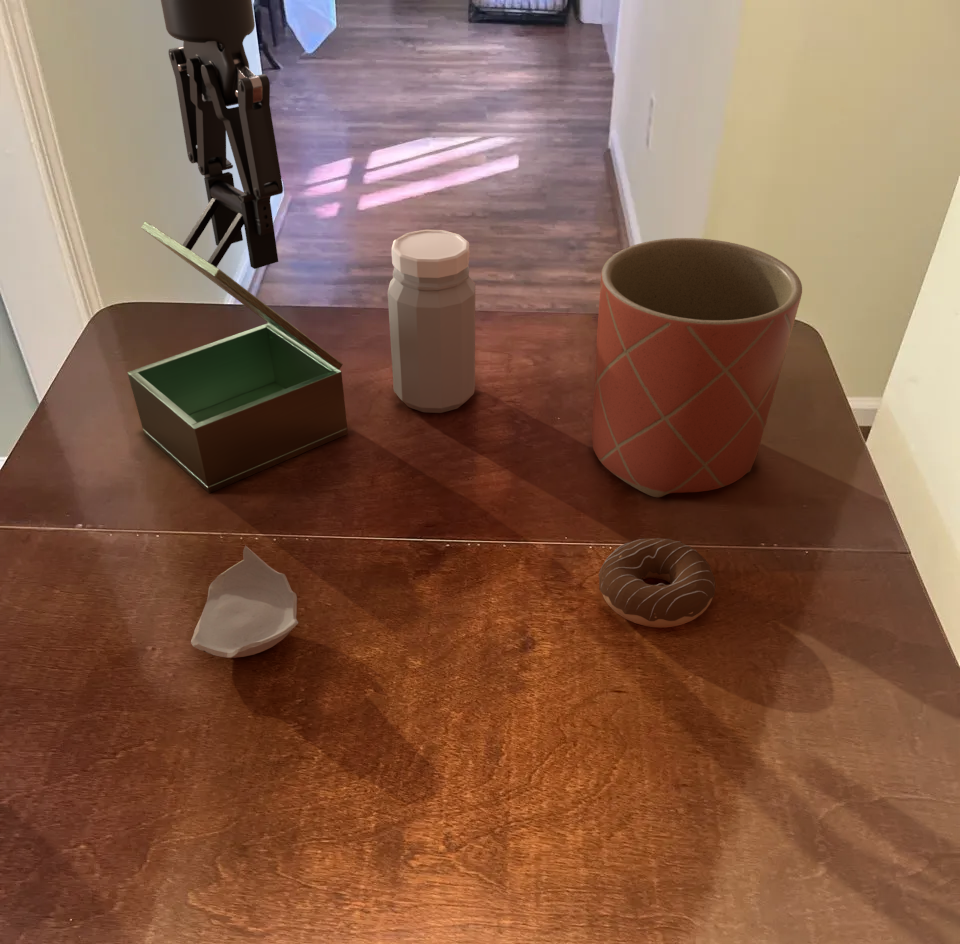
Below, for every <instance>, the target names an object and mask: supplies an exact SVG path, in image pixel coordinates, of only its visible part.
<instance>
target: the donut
mask: <svg viewBox="0 0 960 944" xmlns="http://www.w3.org/2000/svg"><path fill="white" fill-rule="evenodd" d="M597 575H598V585H599V591H600V593H601V594H602V597H603V599H604V601H605V603H606V604H607V605H608V607H610V609H611V610H612V611H614V613H616V614H617V615H619V616H621V617H622V618H623V619H625V620H627V621H629V622H631V623H634V624H637V625H641V626H645V627H649V628H658V629H659V628H660V629H661V628H671V627H672V628H673V627H678V626H681V625H685V624H687V623H690V622H692V621H693V620H696V619H697V618H698V617H700V616H701V615H702V614H703V613H704V612H705V611H706V610H707V609H708V607H709V606H710V605H711V602H712V601H713V599H714V597H715V593H716V592H715V591H716V579H715V576H714V573H713V570H712V568H711V566H710V564H709V562H708V561H707V560H706V559H705V558H704V557H703V556H702V555H701V554H700V553H699V552H698V551H697V549H695V548H693V547H691V546H690V545H688V544H686V543H683V542H682V541H680V540H679V541H678V540H673V539H671V538H661V537H656V538H653V537H652V538H640V539H637V540H633V541H630V542H625V543H623V544H621V545H619V546H618V547H617V548H615V549H614V550H613V551H612V552H611V553H610V555H608V557H606V559H605V560H604V563H603V564H602V565H601V567H600V569H599V571H598V574H597ZM646 579H659V580H662V581H665V582H668V583H670V584H665V583H664V582H660V583H658V584H649V583H646V582H645V581H644V580H646Z"/></svg>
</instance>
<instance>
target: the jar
mask: <svg viewBox="0 0 960 944" xmlns="http://www.w3.org/2000/svg"><path fill="white" fill-rule="evenodd" d="M390 250H391V263H392V266H393V272H392V279H391V280H390V282H389V284H388V289H387V305H388V321H389V336H390V352H391V353H390V354H391V369H392V370H391V371H392V387H393V392H394V393H395V394H396V396H397V397H398V399H400V400H401V402H402V403H404V404H405V405H406V406H407V407H408V408H410V409H413V410H415V411H418V412H421V413H431V414H432V413H433V414H434V413H435V414H442V413H445V412H449V411H453V410H457V409H459V408H460V407H461V406H462V405H464V404H465V403H466V402H468V401H469V400H470V398H471V397H472V396H474V394H475V387H476V283H475V281H474V280H473V279H472V277H470V266H469V263H470V242H469V241H468V240H467V239H466V238H464V237H463V236H462V235H461V234H459V233H455V232H451V231H448V230H445V229H420V230H415V231H410V232H406V233H404V234H403V235H401V236H399V237H397V238H395V239H394V240H393V242H392V245H391V249H390Z"/></svg>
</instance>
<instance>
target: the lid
mask: <svg viewBox="0 0 960 944" xmlns="http://www.w3.org/2000/svg"><path fill="white" fill-rule="evenodd" d="M210 194H211V197H212V199H211V201H210V202H209V203H208V204H207V206H206V207H205V209H204V210H203V212H202V213H201V215H200V216H199V218H198V219H197V221H196V222H195V224H194V226H193V227H192V229H191V231H190V232H189V233H188V235H187V237H186V239H185V240H184V242H183V243H180V242H178V241H177V240H176V239H174V238H173V237H171V236H169V235H168V234H166V233H164V232H163V231H162V230H160V229H158V228H157V227H155V226H154V225H152V224H151V223H149V222H148V221H146V220H145V221H144V222H143V223H142V225H141V229H142V230H143V231H144V232H146V233H147V234H149V235H150V236H151V237H153V238H154V239H155V240H157V241H158V242H159V243H161V244H162V245H163V246H165V247H166V248H167V249H168V250H170V251H171V252H173V253H174V254H175V255H177V256H178V257H179V258H181V259H182V260H183V261H184V262H185V263H187V264H188V265H190V266H191V267H192V268H194V269H195V270H197V271H198V272H199V273H201V274H202V275H203V276H204V277H206V278H208V279H209V280H210V281H211V282H213V283H214V284H215V285H216V286H218V287H219V288H220V289H222V290H223V291H225V292H226V293H227V294H228V295H229V296H232V298H234V299H235V300H237V301H238V302H239V303H240V304H242V305H243V306H244V307H246V308H247V309H249V310H250V311H251V312H253V313H254V314H255V315H256V316H258V317H259V318H261V320H263V321H265V322H266V323H269V324H271V325H272V326H274V327H275V328H277V329H278V330H279V331H281V332H282V333H284V334H285V335H287V336H288V337H290V338H291V339H293V340H294V341H296V342H297V343H299V344H300V345H302V346H303V347H305V348H306V349H308V350H309V351H311V352H312V353H314V354H315V355H317V356H318V357H320V358H321V359H323V360H324V361H326V362H327V363H329V364H330V365H331V366H333V367H334V368H336V369H337V370H341V368H342V367H343V363H342V362H341V361H340V360H339V359H337V358H336V357H334V356H333V355H332V354H330V352H328V351H327V350H325V349H324V348H322V347H321V346H320V345H319V344H318V343H316V342H315V341H314V340H313V339H311V338H310V337H309V336H307V335H305V334H304V333H303V332H302V331H301V330H299V329H298V328H297V327H296V326H294V325H293V324H292V323H290V322H289V321H288V320H286V319H285V318H284V317H283V316H282V315H280V314H279V313H278V312H277V311H275V310H273V309H272V308H271V307H269V306H268V305H267V304H266V303H264V302H263V301H262V300H260V299H259V298H258V297H257V296H255V295H254V294H253V293H251V292H250V291H248V290H247V289H246V288H245V287H244V286H242V285H241V284H240V283H238V282H237V281H236V280H235V279H233V278H232V277H230V276H229V275H228V274H227V273H225V272H224V271H223V270H221V269H220V268H218V266H219V264H220V263H221V261H222V260H223V258H224V256H226V253H227V252H228V250H229V248H230V247H231V245H232V244H233V243H232V242H233V241H234V239H235V238H236V236H237V234H238V233H239V231H240V230H241V231H242V228H243V227H244V221H243V215H242V208H241V202H240V201H239V199H238V196H242V195H245V194H244V191H243V190H240V189H238V188H237V187H235V186H234V187H233V186H231V185H229V184H228V183H226V182H224V181H222V180H218V181H215V182H214V183H213V184H212V186H211V189H210ZM220 204H222V205H223V206H225V207H227V208H229V209H230V210H232V211H234V212H236V213H237V214H238V215H237V216H236V218H235V219H234V221H233V223H232V224H231V226H230V227H229V229H228V230H227V232H226V234H225V235H224V237H223V238H222V240H221V241H220V243H219V245H218V246H217V245H216V248H215V249H214V250H213V252H212V254H211V256H210V257H209V258H208V260H206V259H205V258H203V257H201V256H200V255H199V254H197V253H195V251H193V248H194V247H195V245H196V243H197V242H198V240H199V239H200V237H201V235H202V234H203V232H204V230H205V229H206V227H207V226H208V224H209V223H210V222H211V221H212V220H211V218H212V216H213V215H214V213H215V212H216V210H217V208H218V207H219V205H220Z"/></svg>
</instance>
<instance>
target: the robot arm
mask: <svg viewBox="0 0 960 944" xmlns="http://www.w3.org/2000/svg"><path fill="white" fill-rule="evenodd" d="M160 3H161V4H160V5H161V9H162V15H163V20H164V26H165V30H166V32H167V33H168V34H169V36H171V37H172V38H173V39H176V40H177V41H178V40H179V41H182V42H183V45H182V46H178V47H172V48H169V49H168V58H169V61H170V64H171V68H172V71H173V75H174V79H175V85H176V89H177V90H176V91H177V96H178V103H179V109H180V116H181V121H182V129H183V135H184V141H185V147H186V153H187V158H188V161H189V162H190V163H191V164H197V169H198V171H199V173H200V175H201V176H204V177H203V182H204V185H205V186H204V187H205V192H206V198H207V202H208V204H209V202H210V201H211V199H212V197H211V194H210V189H211V186H212V184H213V183H214V182H215V181H218V180H222V181H224V182H226V183H228V184H229V185H231V186H233V187H235V181H234V176H233V173H231V172H230V171H227V172H223V171H226V170H232V169H233V167H234V165H233V164H232V162H231V161H230V160H229V159H228V158H227V139H228V142H229V145H230V149H231V152H232V157H233V159H234V164H235V166H236V169H237V174H238V177H239V180H240V184H241V187H242V192H244V194H245V195H242V196H238V199H239V201H240V202H241V208H242V215H243V221H244V225H243V227H244V232H245V233H244V234H245V240H246V245H247V252H248V258H249V266H250V268H252V269H253V270H256V269H259V268H263V267H266V266H269V265H273V264H275V263H278V262H279V255H278V249H277V240H276V235H275V225H274V219H273V211H272V205H271V203H272V202H271V198H272V197H274V196H278V195H281V194H283V193H284V186H283V179H282V174H281V168H280V161H279V155H278V148H277V143H276V135H275V129H274V123H273V117H272V111H271V105H270V104H271V102H270V101H271V84H270V83H271V82H270V79H269V77H268V75H267V74H266V73H263V74H257V75H256V74H255V73H254V72H253V71H252V70H251V69H250V63H249V60H248V57H247V54H246V50H245V46H244V41H245V39H246V37H247V36H249V35H251V34H252V33H253V31H254V30H255V25H256V23H255V16H254V7H253V1H252V0H160ZM235 105H238V106H235ZM231 106H235V107H231ZM228 107H229V108H228ZM237 215H238V214H237V213H236V212H234V211H232V210H230V209H229V208H227V207H225V206H223V205H222V204H220V205H219V207H218V208H217V210H216V212H215V213H214V215H213V216H212V218H211V220H210V221H211V223H212V231H213V236H214V242H215V245H216V247H217V246H218V245H219V243H220V241H221V240H222V238H223V237H224V235H225V234H226V232H227V230H228V229H229V227H230V226H231V224H232V223H233V221H234V219H235V218H236V216H237ZM242 241H244V238H243V231H242V229H241V230H240V231H239V233H238V234H237V236H236V238H235V239H234V241H233V242H232V244H235V243H239V242H242Z"/></svg>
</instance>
